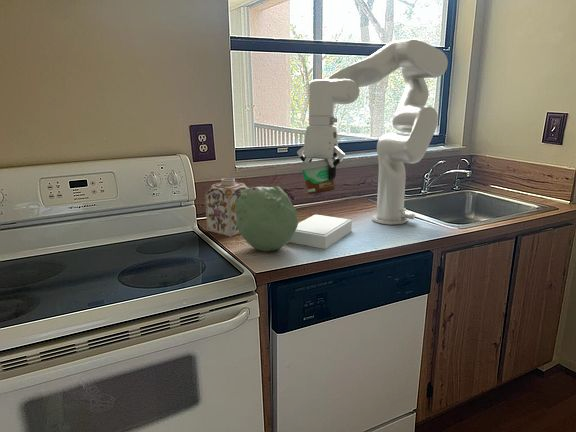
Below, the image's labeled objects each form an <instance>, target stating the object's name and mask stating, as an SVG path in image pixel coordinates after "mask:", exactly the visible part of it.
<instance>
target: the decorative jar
mask: <svg viewBox="0 0 576 432" xmlns="http://www.w3.org/2000/svg"><path fill="white" fill-rule="evenodd" d="M246 188H249V187H248V186H247V185H246V184H245V183H243V182H238V181H236V180H235V178H234V177H233V178H231V177H226V178H221V179H220V182H217V183H214V184H211V186H210V187H209V188H208V190H207V191H206V192H205V194H204V195H205V216H206V219H205V220H206V229H207V231H208V232H211V233H215V234H219V235H222V236H226V237H230V238H232V237H234V236H237V235H239V234H240V232H239V230H238V228H237V218H236V212H235V207H236V206H235V205H234V204H235V203H238V200H236V199H239V198H240V197H239V196H240V195H242V194H241V193H242V192H243V190H244V189H246ZM240 235H241V234H240Z"/></svg>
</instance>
